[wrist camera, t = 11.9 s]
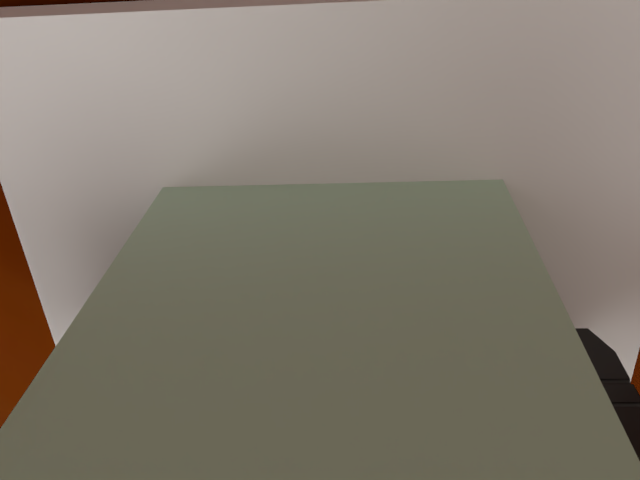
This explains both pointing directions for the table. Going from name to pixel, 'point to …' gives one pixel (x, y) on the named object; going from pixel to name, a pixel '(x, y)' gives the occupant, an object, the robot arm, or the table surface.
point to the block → (321, 347)
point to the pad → (327, 123)
